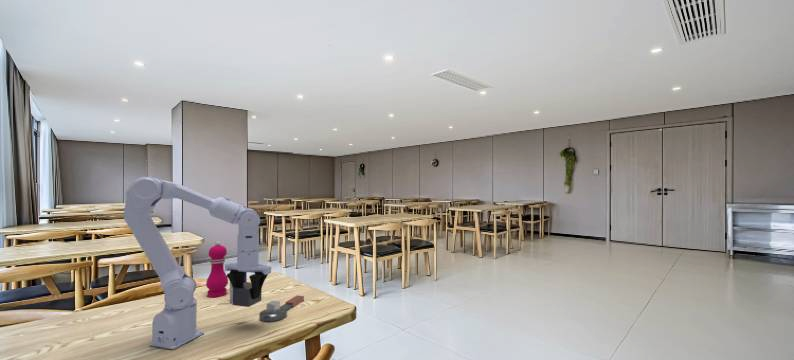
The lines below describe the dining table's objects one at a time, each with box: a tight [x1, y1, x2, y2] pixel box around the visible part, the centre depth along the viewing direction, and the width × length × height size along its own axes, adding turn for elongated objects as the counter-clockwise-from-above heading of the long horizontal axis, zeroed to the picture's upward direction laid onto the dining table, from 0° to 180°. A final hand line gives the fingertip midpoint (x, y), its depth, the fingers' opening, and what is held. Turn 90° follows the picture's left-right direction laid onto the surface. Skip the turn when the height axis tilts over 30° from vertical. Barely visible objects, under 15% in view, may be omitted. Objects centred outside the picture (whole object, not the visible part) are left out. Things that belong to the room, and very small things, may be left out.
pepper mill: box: [205, 240, 229, 298], centre depth 122 cm, size 7×7×20 cm
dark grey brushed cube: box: [232, 281, 263, 308], centre depth 95 cm, size 5×5×5 cm
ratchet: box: [259, 295, 305, 324], centre depth 108 cm, size 20×8×4 cm, turn 165°
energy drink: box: [229, 272, 248, 304], centre depth 116 cm, size 5×5×12 cm
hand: (247, 297), depth 95 cm, fingers closed on dark grey brushed cube, 5 cm apart
